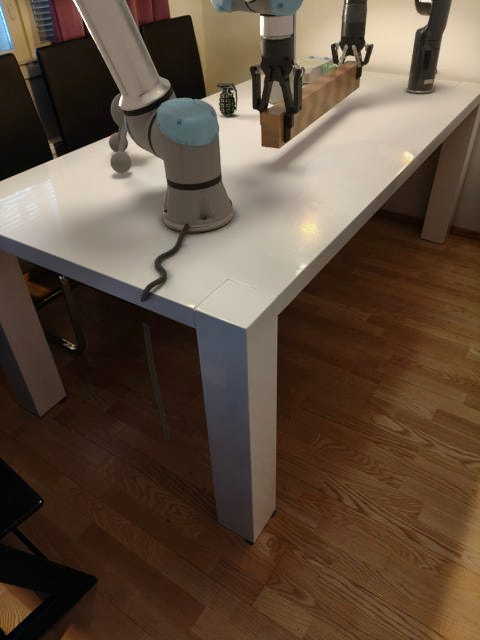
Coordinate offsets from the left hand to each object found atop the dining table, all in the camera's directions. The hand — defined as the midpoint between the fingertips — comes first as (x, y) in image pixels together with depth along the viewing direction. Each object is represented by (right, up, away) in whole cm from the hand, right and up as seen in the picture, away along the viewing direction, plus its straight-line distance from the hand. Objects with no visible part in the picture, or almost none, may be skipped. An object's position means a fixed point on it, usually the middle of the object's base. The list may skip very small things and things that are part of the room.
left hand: (276, 139), depth 125 cm
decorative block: (+19, +57, +83) cm, 103 cm away
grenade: (-14, +25, +44) cm, 52 cm away
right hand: (+27, +35, +38) cm, 58 cm away
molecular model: (-36, 0, +14) cm, 39 cm away
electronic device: (+6, +36, +57) cm, 68 cm away
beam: (+14, +16, +20) cm, 29 cm away
